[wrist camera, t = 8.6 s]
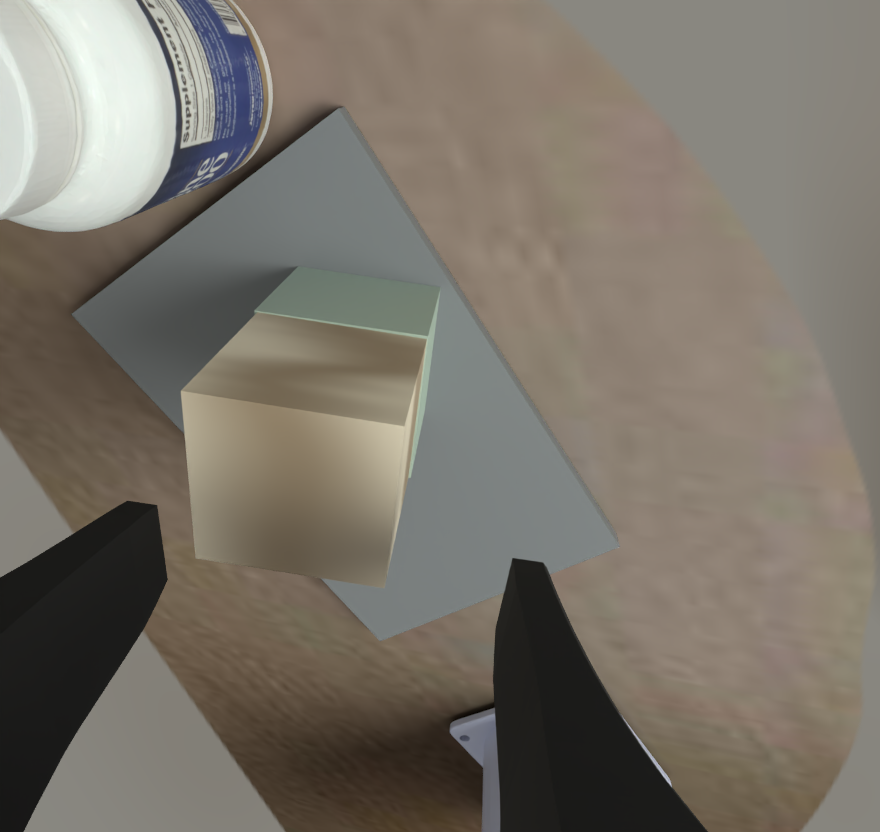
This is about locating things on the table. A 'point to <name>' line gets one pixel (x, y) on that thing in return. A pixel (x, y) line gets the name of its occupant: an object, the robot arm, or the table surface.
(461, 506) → the board
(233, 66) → the pill bottle
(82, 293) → the table surface
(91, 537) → the robot arm
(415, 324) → the sage block
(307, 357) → the birch block
